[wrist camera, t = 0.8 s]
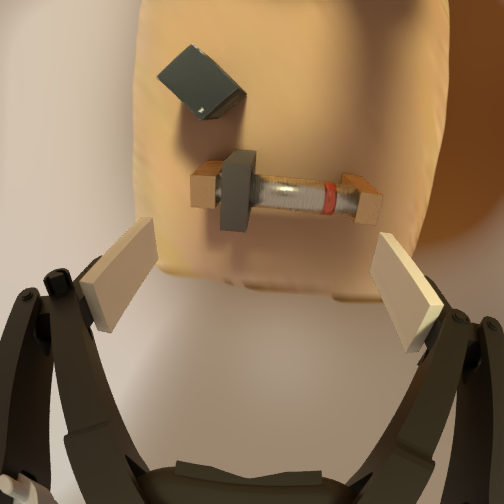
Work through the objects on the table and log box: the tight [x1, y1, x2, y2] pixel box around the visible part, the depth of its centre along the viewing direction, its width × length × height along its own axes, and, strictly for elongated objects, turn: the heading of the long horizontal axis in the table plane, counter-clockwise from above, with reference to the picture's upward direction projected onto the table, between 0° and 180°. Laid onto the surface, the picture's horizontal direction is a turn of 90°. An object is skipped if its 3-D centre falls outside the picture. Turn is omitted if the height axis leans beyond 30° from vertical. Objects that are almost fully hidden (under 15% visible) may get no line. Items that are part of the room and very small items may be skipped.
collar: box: [220, 149, 256, 232], centre depth 35 cm, size 3×8×11 cm, turn 176°
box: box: [157, 44, 247, 121], centre depth 29 cm, size 8×6×11 cm
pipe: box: [190, 160, 383, 226], centre depth 35 cm, size 23×4×10 cm, turn 86°
